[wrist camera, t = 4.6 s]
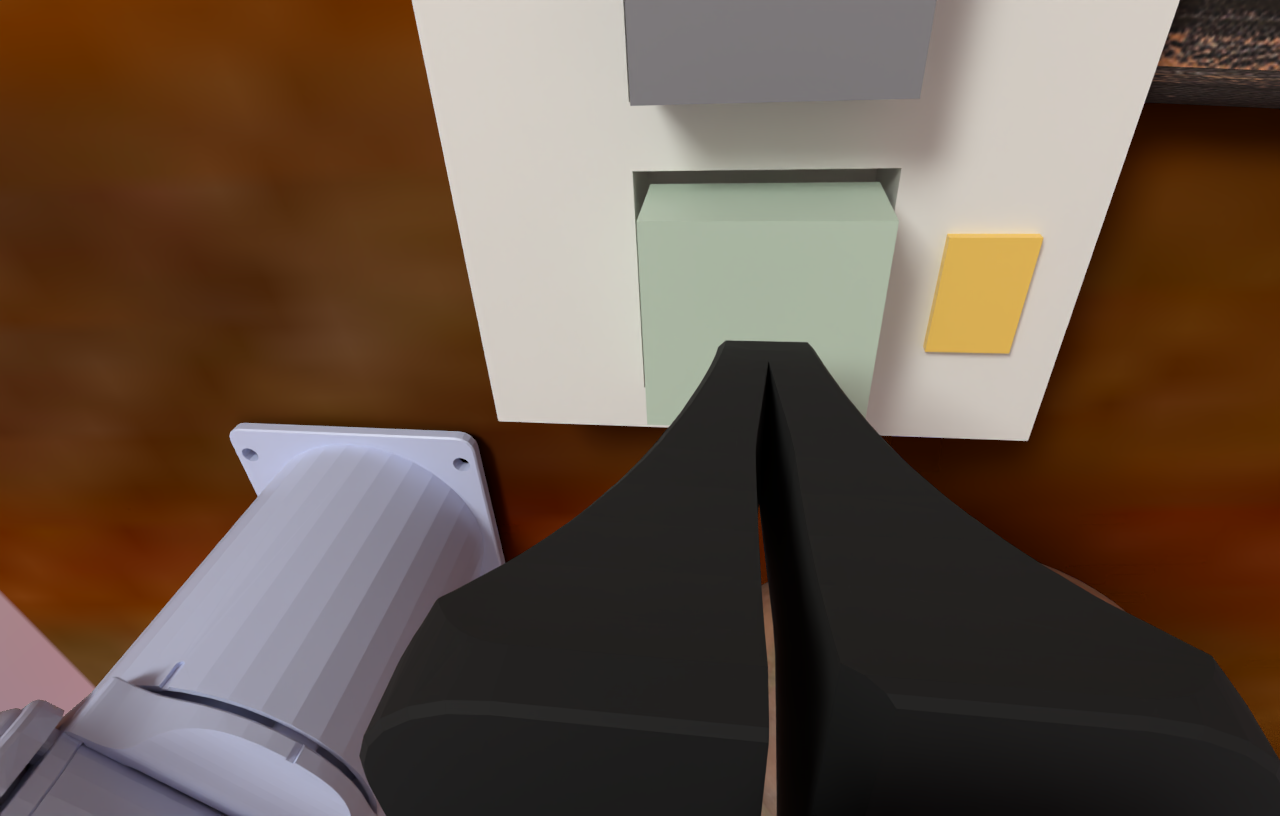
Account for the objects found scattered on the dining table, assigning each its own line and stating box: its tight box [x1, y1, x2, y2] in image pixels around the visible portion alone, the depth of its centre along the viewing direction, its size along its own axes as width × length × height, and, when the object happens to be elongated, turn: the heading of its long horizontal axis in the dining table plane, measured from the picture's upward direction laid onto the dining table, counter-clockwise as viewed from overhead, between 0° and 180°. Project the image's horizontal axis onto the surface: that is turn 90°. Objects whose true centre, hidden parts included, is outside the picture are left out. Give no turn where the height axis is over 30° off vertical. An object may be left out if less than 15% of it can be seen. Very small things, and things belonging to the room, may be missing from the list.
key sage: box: [637, 182, 899, 425], centre depth 13 cm, size 4×4×2 cm
